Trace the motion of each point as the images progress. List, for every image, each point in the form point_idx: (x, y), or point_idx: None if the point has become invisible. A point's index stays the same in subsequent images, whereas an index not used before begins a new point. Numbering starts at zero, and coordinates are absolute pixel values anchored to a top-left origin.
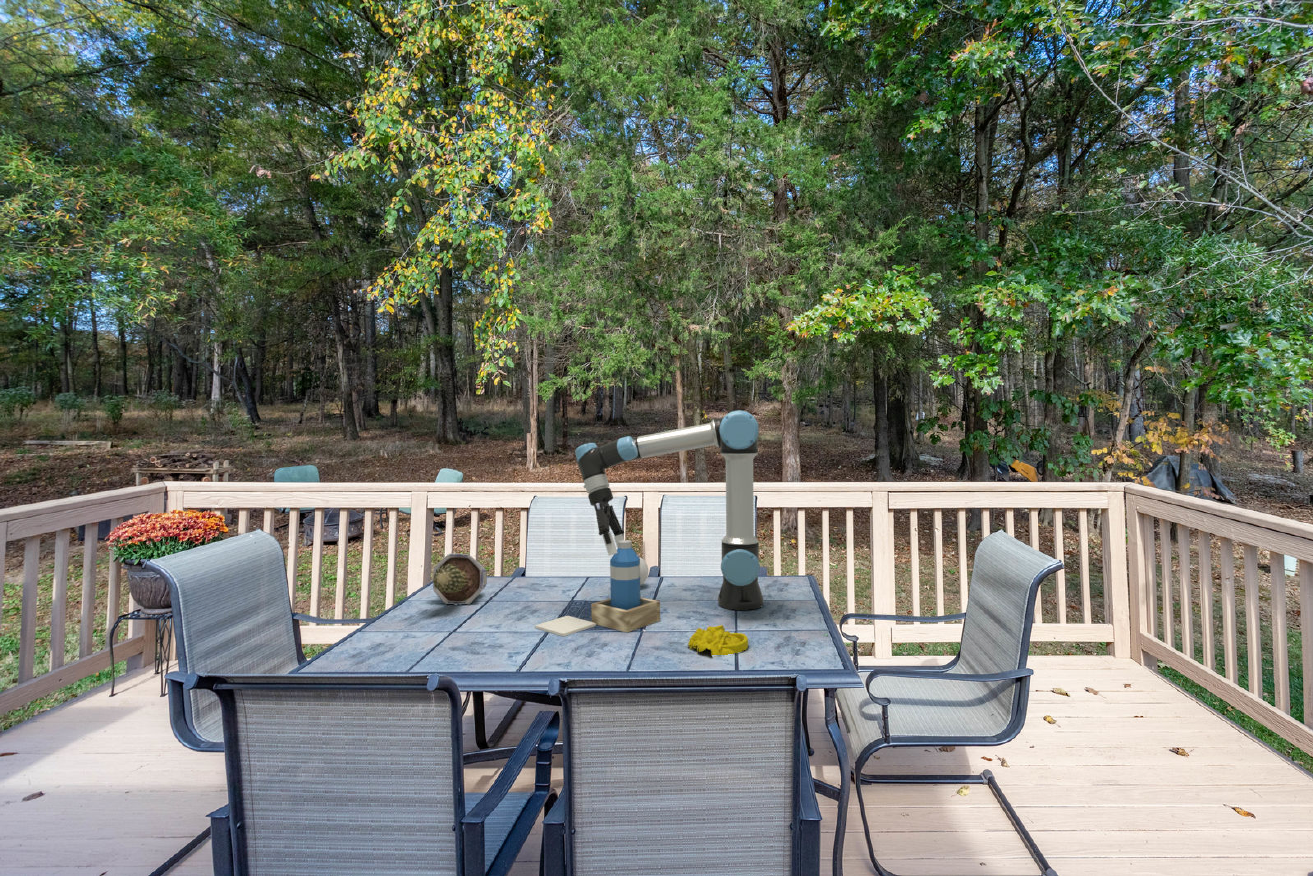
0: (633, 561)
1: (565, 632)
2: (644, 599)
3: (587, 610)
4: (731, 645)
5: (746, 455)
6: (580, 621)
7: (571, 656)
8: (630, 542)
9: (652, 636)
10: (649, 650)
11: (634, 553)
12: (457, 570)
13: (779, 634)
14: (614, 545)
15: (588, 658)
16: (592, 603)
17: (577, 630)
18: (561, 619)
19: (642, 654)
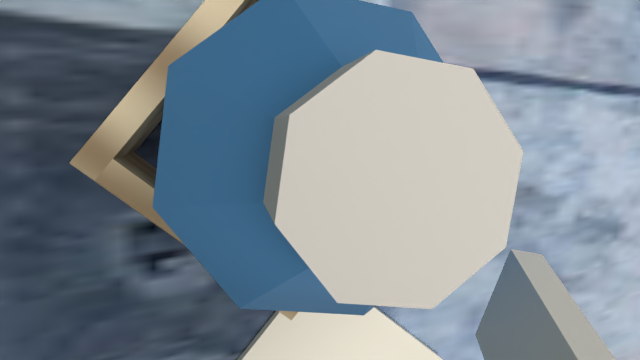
0: (440, 59)
1: (427, 356)
2: (207, 36)
3: (67, 345)
4: None
5: None
6: (292, 333)
7: (612, 282)
8: (459, 69)
9: (453, 22)
10: (589, 35)
11: (377, 35)
12: None
13: None
14: (591, 326)
15: (632, 228)
16: (285, 315)
17: (391, 319)
18: None
19: (619, 59)
